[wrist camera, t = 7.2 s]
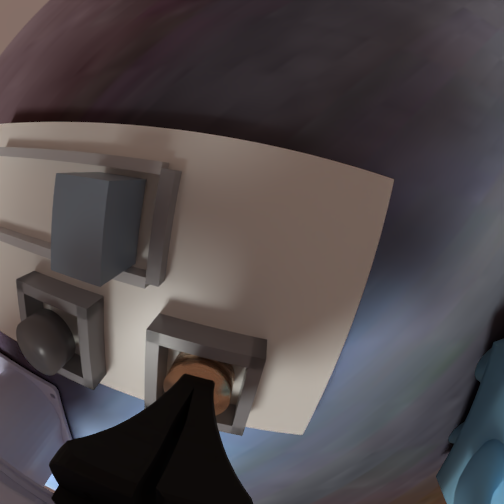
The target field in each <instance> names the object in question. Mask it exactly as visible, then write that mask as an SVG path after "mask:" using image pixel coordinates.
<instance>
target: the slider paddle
mask: <svg viewBox="0 0 504 504" xmlns="http://www.w3.org/2000/svg"><path fill="white" fill-rule="evenodd" d="M146 180H147V179H141V178H135V177H129V176H123V175H116V174H109V173H103V172H72V173H56V178H55V186H54V196H53V208H52V224H51V270H52V271H55V272H58V273H61V274H63V275H66V276H69V277H72V278H75V279H78V280H81V281H83V282H86V283H89V284H92V285H95V286H98V287H101V286H102V285H104V284H105V283H107V282H108V281H110V280H111V279H113V278H114V277H116V276H117V275H119V274H120V273H122V272H123V271H125V270H126V269H128V268H129V267H131V266H132V265H134V264H136V254H137V244H138V236H139V227H140V220H141V212H142V205H143V199H144V192H145V186H146Z"/></svg>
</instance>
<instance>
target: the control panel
mask: <svg viewBox="0 0 504 504" xmlns="http://www.w3.org/2000/svg"><path fill="white" fill-rule="evenodd" d="M72 172H103V173H109V174H116V175H123V176H129V177H135V178H141V179H147V180H146V186H145V192H144V199H143V205H142V212H141V220H140V227H139V236H138V244H137V254H136V264H134V265H132V266H131V267H129V268H128V269H126V270H125V271H123V272H122V273H120V274H119V275H117V276H116V277H114V278H113V279H111V280H110V281H108V282H107V283H105V284H104V285H102V286H101V287H98V286H95V285H92V284H89V283H86V282H83V281H81V280H78V279H75V278H72V277H69V276H66V275H63V274H61V273H58V272H55V271H52V270H51V224H52V208H53V196H54V186H55V178H56V173H72ZM393 183H394V179H392V178H389V177H386V176H383V175H380V174H376V173H373V172H370V171H367V170H364V169H360V168H357V167H354V166H350V165H347V164H343V163H340V162H336V161H333V160H329V159H325V158H321V157H318V156H314V155H310V154H306V153H302V152H297V151H293V150H289V149H285V148H280V147H276V146H271V145H266V144H261V143H257V142H251V141H246V140H241V139H235V138H230V137H224V136H218V135H212V134H205V133H199V132H192V131H184V130H177V129H168V128H159V127H150V126H139V125H127V124H112V123H92V122H25V123H6V124H0V331H1V332H3V333H4V334H6V335H7V336H9V337H10V338H12V339H14V340H15V341H17V337H16V329H17V326H18V324H19V323H20V322H22V321H23V320H25V319H26V318H28V317H29V316H31V315H32V314H34V313H35V312H37V311H38V310H40V309H43V308H45V309H50V310H52V311H54V312H55V313H57V314H58V315H59V316H60V317H61V318H62V319H63V320H64V321H65V322H66V324H67V325H68V327H69V328H70V330H71V332H72V334H73V337H74V340H75V346H76V349H75V354H74V356H73V357H72V358H71V359H70V360H69V361H68V362H67V363H66V364H65V365H64V366H63V367H62V368H61V369H60V370H59V371H58V372H57V373H58V374H60V375H62V376H64V377H66V378H68V379H71V380H73V381H75V382H77V383H79V384H81V385H83V386H85V387H88V388H90V389H92V390H94V389H95V388H96V387H97V385H98V384H99V383H101V384H103V385H105V386H108V387H110V388H113V389H115V390H118V391H121V392H123V393H126V394H129V395H131V396H134V397H137V398H140V399H143V400H145V409H146V408H147V407H148V406H150V405H151V404H152V403H154V402H155V401H156V400H157V399H159V398H160V397H161V396H162V395H163V394H164V393H165V392H164V388H163V383H164V380H165V377H166V375H167V374H168V372H169V370H170V368H171V366H172V364H173V362H174V360H175V359H176V357H177V356H178V354H179V353H181V352H185V353H188V354H192V355H196V356H200V357H203V358H207V359H211V360H216V361H220V362H224V363H228V364H231V365H232V367H233V370H234V374H235V379H234V384H233V389H232V394H231V399H230V403H229V406H228V407H227V409H226V410H225V411H223V412H222V413H220V414H218V415H216V421H217V426H218V430H219V431H222V432H226V433H231V434H236V435H241V436H242V435H243V432H244V429H245V427H250V428H256V429H261V430H268V431H274V432H281V433H289V434H297V435H303V433H304V431H305V429H306V427H307V425H308V423H309V421H310V419H311V417H312V415H313V413H314V411H315V409H316V407H317V405H318V403H319V401H320V399H321V396H322V394H323V392H324V390H325V388H326V386H327V383H328V381H329V379H330V377H331V374H332V372H333V370H334V367H335V365H336V363H337V360H338V358H339V355H340V353H341V351H342V348H343V346H344V343H345V341H346V338H347V335H348V333H349V330H350V328H351V325H352V322H353V320H354V317H355V314H356V311H357V309H358V306H359V303H360V300H361V297H362V294H363V291H364V288H365V285H366V282H367V279H368V276H369V273H370V270H371V266H372V263H373V260H374V257H375V253H376V250H377V246H378V243H379V239H380V236H381V232H382V228H383V224H384V221H385V217H386V213H387V209H388V205H389V200H390V196H391V192H392V187H393Z"/></svg>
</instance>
